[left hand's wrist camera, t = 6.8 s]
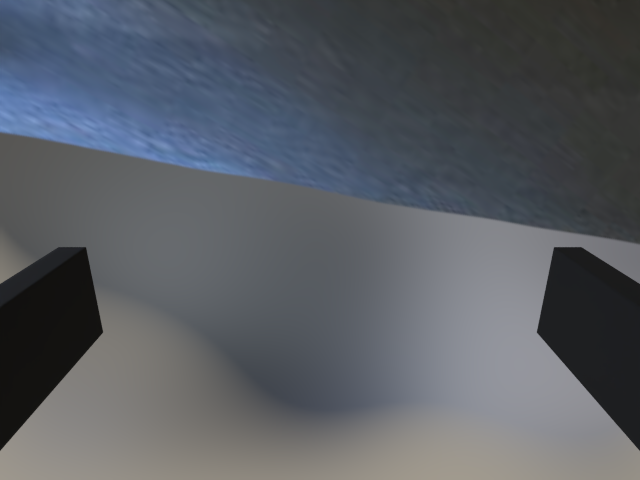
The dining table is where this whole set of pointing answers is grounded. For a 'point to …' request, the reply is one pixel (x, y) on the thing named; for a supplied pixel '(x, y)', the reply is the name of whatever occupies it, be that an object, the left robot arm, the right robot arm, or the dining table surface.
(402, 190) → the dining table surface
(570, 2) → the dining table surface
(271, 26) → the dining table surface
